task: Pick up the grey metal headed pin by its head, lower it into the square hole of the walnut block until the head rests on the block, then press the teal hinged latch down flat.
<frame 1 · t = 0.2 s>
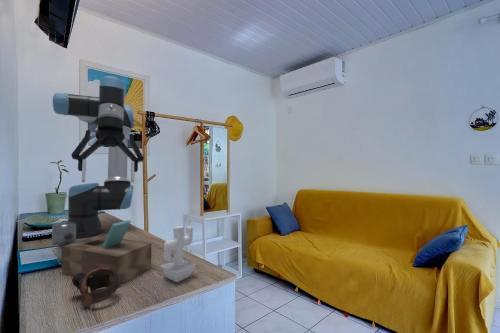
hand: (108, 181, 81), 27 cm above the cabinet, tool tilted 20°, fingers open, 13 cm apart
figurine: (178, 278, 75), on the cabinet
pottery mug: (96, 298, 63), on the cabinet
block: (107, 270, 79), on the cabinet
latch: (116, 233, 78), point 12 cm above the cabinet, hinge at 60.0°
pin: (64, 263, 85), on the cabinet
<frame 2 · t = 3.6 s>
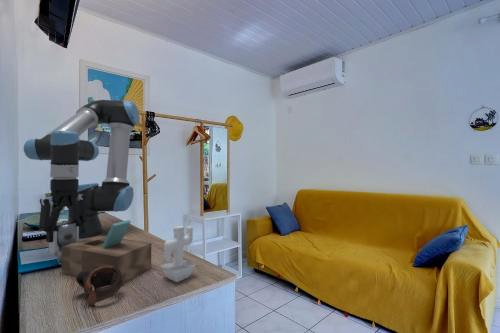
hand: (64, 248, 84), 5 cm above the cabinet, tool pointing down, fingers closed on pin, 6 cm apart
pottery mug: (99, 296, 64), on the cabinet
pin: (64, 263, 85), on the cabinet, touching gripper
everything else where it was.
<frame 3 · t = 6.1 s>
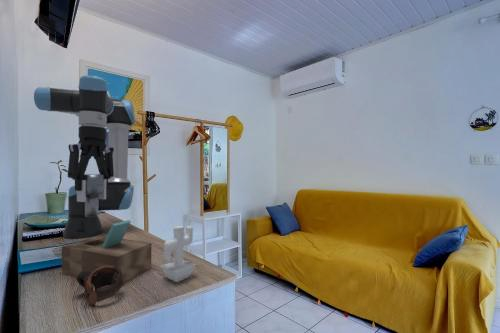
hand: (92, 200, 81), 21 cm above the cabinet, tool pointing down, fingers closed on pin, 6 cm apart
pin: (91, 215, 81), point 17 cm above the cabinet, touching gripper
everything else where it was.
when the fingers open (9 cm above the cabinet, at t = 8.7 s): pin drops 3 cm, resting on block.
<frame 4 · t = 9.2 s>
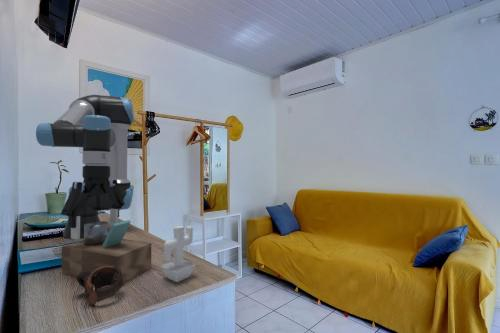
hand: (96, 233, 81), 11 cm above the cabinet, tool pointing down, fingers open, 13 cm apart
pin: (95, 264, 81), point 1 cm above the cabinet, touching block
everything else where it was.
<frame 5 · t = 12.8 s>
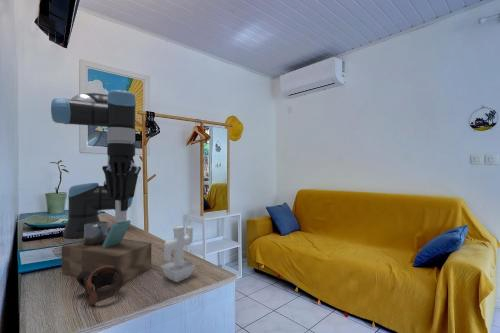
hand: (120, 221, 77), 16 cm above the cabinet, tool pointing down, fingers closed
latch: (116, 233, 78), point 12 cm above the cabinet, hinge at 59.7°, touching gripper
everything else where it was.
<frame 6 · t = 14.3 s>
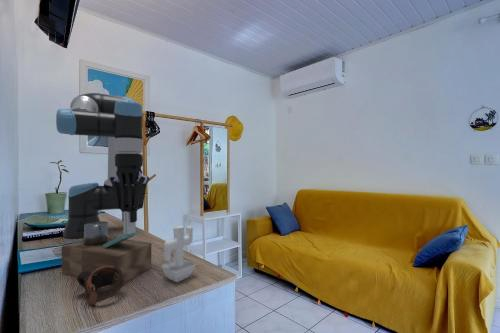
hand: (129, 233, 76), 13 cm above the cabinet, tool pointing down, fingers closed, pressing on latch
latch: (121, 239, 77), point 10 cm above the cabinet, hinge at 26.6°, touching gripper
everything else where it was.
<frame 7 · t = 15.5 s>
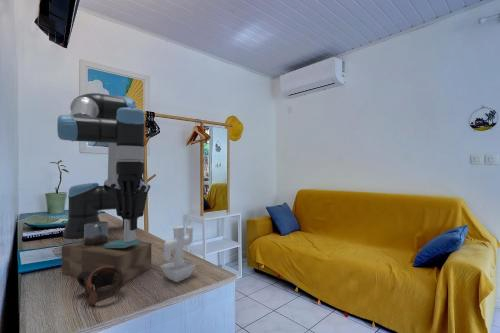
hand: (129, 240, 76), 10 cm above the cabinet, tool pointing down, fingers closed
latch: (122, 243, 77), point 9 cm above the cabinet, hinge at 7.7°, touching gripper
everything else where it was.
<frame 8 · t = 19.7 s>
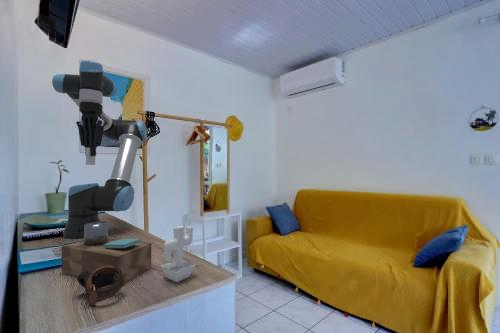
hand: (90, 164, 98), 32 cm above the cabinet, tool pointing down, fingers closed
latch: (122, 243, 77), point 9 cm above the cabinet, hinge at 7.5°
everything else where it was.
at the end: pin 0.0 cm from the target spot on the block, point 1.0 cm above the block's base; pin tilted 0°; latch at +8° (first picture: +60°) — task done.
